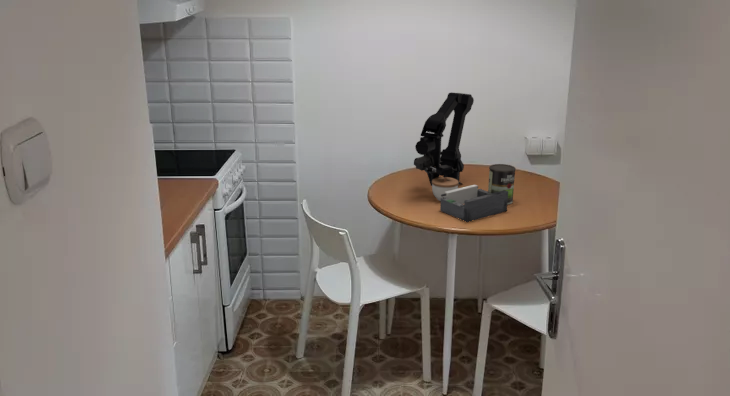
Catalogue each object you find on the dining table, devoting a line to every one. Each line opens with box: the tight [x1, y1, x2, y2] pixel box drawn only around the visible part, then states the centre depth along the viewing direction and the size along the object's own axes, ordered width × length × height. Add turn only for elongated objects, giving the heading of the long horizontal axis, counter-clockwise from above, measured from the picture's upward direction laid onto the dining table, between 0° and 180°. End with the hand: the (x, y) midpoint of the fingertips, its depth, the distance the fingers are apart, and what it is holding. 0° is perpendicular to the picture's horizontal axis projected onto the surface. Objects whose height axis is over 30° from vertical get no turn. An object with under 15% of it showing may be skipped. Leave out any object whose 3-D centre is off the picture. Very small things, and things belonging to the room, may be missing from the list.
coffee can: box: [487, 163, 516, 206], centre depth 283 cm, size 10×10×14 cm
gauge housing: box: [439, 188, 508, 223], centre depth 273 cm, size 21×15×8 cm
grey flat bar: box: [441, 184, 479, 205], centre depth 278 cm, size 18×2×6 cm, turn 125°
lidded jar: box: [431, 176, 460, 202], centre depth 286 cm, size 11×11×9 cm
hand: (432, 185), depth 292 cm, fingers closed
